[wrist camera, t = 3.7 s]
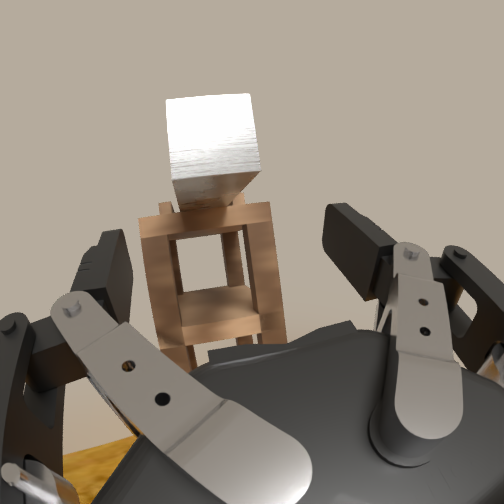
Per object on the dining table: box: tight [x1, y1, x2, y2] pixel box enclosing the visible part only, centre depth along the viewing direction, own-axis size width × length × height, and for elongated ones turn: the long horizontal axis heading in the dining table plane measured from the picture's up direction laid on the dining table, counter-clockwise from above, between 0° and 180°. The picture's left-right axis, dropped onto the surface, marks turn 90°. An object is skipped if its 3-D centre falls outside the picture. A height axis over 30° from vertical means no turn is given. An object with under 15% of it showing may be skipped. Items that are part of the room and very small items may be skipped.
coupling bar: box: [166, 94, 261, 212], centre depth 24 cm, size 4×26×4 cm, turn 12°
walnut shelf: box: [139, 193, 287, 373], centre depth 32 cm, size 10×18×35 cm, turn 12°
